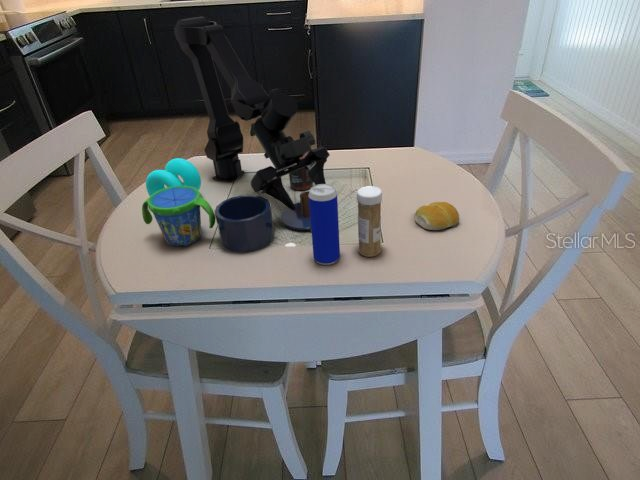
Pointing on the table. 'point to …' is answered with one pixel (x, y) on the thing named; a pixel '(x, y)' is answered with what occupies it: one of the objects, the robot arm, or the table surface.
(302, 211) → the lid
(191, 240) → the snack cup
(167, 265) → the table surface
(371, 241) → the spice jar
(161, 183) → the donuts
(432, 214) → the bread roll
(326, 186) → the beverage can
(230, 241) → the navy blue pot
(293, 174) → the supplement bottle
